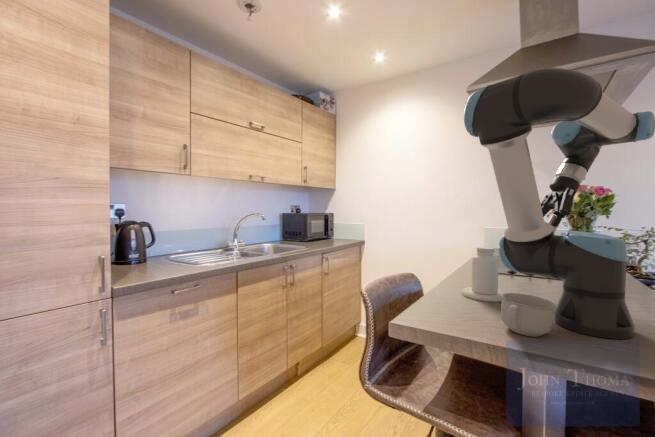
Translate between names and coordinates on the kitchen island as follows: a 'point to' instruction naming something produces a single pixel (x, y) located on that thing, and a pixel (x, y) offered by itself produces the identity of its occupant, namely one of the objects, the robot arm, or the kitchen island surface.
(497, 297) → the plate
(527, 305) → the teacup
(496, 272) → the pill bottle
